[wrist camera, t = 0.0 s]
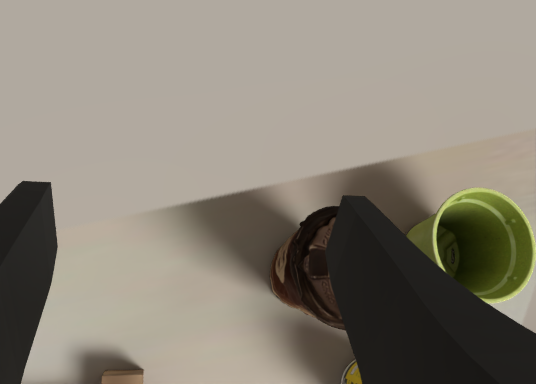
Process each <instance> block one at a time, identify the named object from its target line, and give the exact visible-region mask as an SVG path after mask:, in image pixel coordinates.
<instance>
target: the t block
mask: <svg viewBox="0 0 536 384" xmlns="http://www.w3.org/2000/svg"><path fill="white" fill-rule="evenodd" d="M143 371H144V370H113V371H105V372H104V374H103V375H102V383H101V384H143Z"/></svg>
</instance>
